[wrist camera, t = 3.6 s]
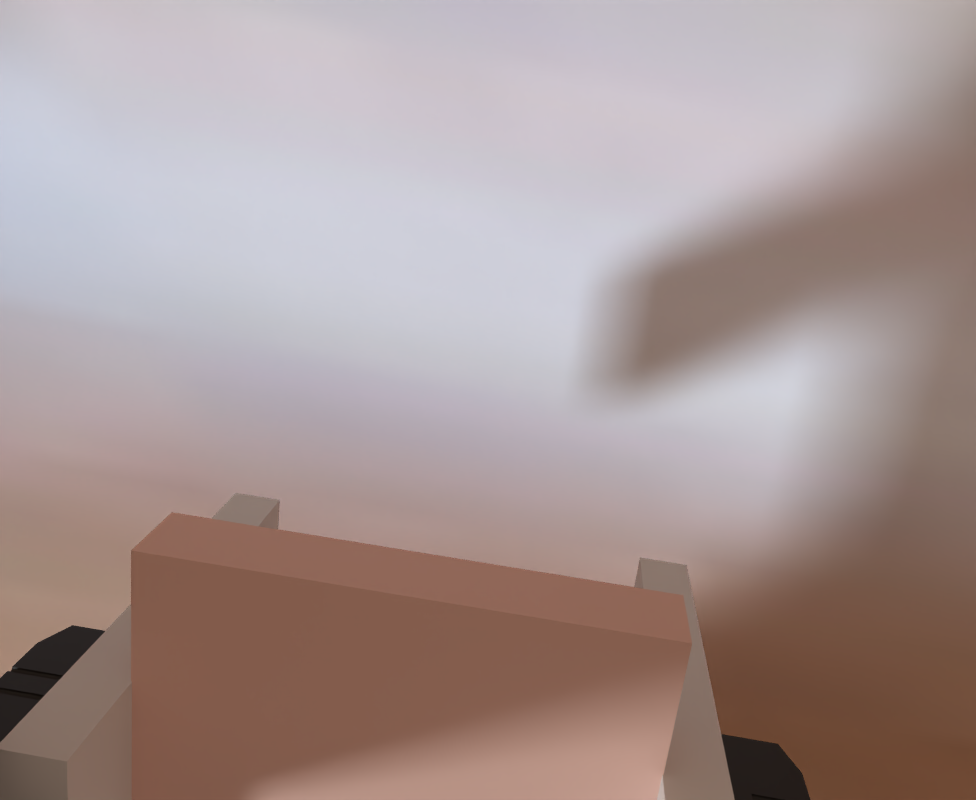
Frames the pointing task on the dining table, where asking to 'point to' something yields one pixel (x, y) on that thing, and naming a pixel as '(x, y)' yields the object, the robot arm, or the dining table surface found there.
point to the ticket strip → (390, 673)
